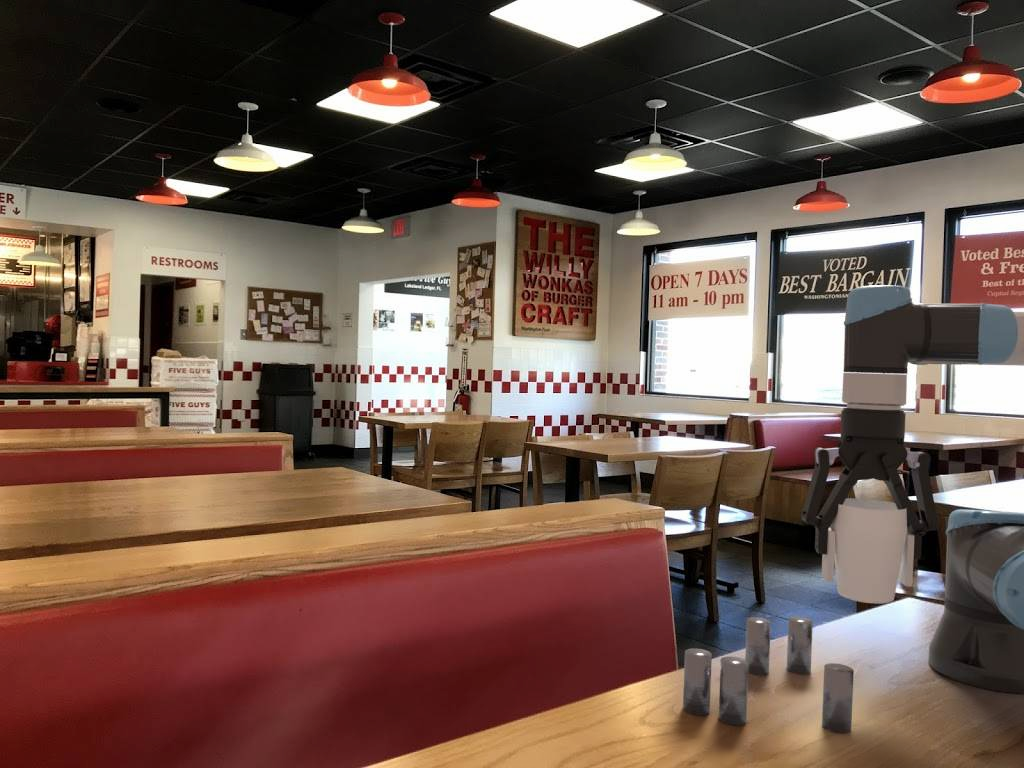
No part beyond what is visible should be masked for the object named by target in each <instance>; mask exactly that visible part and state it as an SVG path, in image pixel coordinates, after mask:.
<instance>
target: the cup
mask: <svg viewBox="0 0 1024 768" xmlns="http://www.w3.org/2000/svg"><path fill="white" fill-rule="evenodd" d="M830 528H831V529H832V530H834V531H835V556H834V571H835V577H836V585H837V593H838V595H840V596H841V597H844V598H845V599H848V600H852V601H855V602H859V603H865V604H876V605H877V604H887V603H891V602H893V601H895V595H896V591H897V584H898V582H899V581H898V576H899V571H900V566H901V561H902V556H903V551H904V546H905V541H906V536H907V532H908V529H907V507H906V509H902V510H898V508H897V506H896V504H895V502H893V501H886V500H880V499H870V498H869V499H868V498H852V497H850V498H848V497H847V498H846V499H845V501H844V503H843V505H840V504H839V505H838V513H837V515H836V517H835V519H834V520H833V522H832V524H831V526H830Z"/></svg>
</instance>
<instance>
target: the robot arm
mask: <svg viewBox="0 0 1024 768" xmlns="http://www.w3.org/2000/svg"><path fill="white" fill-rule="evenodd" d="M843 326H844V345H843V347H844V348H843V352H844V353H843V372H842V373H843V376H842V395H841V401H842V403H843V404H846V407H843V409H842V410H841V413H840V414H841V415H840V439H839V442H838V444H837V446H836V447H831V448H829V447H828V448H822V447H816V448H814V450H813V454H814V455H813V456H814V468H813V473H812V476H811V479H810V482H809V486H808V489H807V494H806V496H805V501H804V503H803V504H804V505H803V506H802V507H803V508H802V512H801V517H800V518H801V520H802V521H803V522H805V523H806V524H807V525H811V526H814V528H815V535H814V538H815V539H814V540H815V541H814V548H815V549H814V550H815V551H816V553H817V554H819V555H822V557H821V558H822V559H821V578H822V579H824V580H825V581H826V582H827V583H834V577H835V561H834V556H835V531H834V530H832V529H831V524H832V522H833V520H834V519H835V517H836V515H837V513H838V505H839V504H840V505H843V503H844V501H845V499H846V498H848V496H849V494H850V492H851V490H852V489H853V488H854V486H856V484H857V483H858V481H859V480H860V481H861V480H863V481H867V480H872V479H873V480H876V481H883V482H884V484H885V485H886V487H887V489H888V491H889V494H890V496H891V497H892V499H893V501H894V502H893V503H895V504H896V506H897V508H898V510H902V509H906V507H907V536H906V541H905V546H904V551H903V556H902V561H901V566H900V571H899V576H898V581H897V582H899V583H901V584H902V585H903V586H905V587H911V588H913V582H914V581H913V578H914V560H920V559H921V557H922V543H923V542H922V541H923V540H922V539H923V538H922V537H924V536H925V535H926V534H927V532H931V531H932V532H933V531H934V532H935V531H937V530H938V529H939V527H940V524H939V519H938V515H937V510H936V504H935V500H934V494H933V489H932V485H931V479H930V474H929V469H930V466H931V465H930V464H931V456H930V454H929V453H926V452H922V451H911V450H910V451H909V450H908V449H907V448H906V445H905V436H906V435H905V434H906V412H905V411H904V410H903V409H902V408H901V407H904V406H905V405H907V391H908V390H907V388H908V387H907V386H908V383H907V382H908V365H909V363H910V364H911V365H916V366H925V365H926V366H927V365H959V366H960V365H971V366H972V365H979V366H982V365H984V366H1019V367H1021V366H1023V367H1024V311H1013V309H1012V308H1011V307H1010V306H1008V305H1004V304H991V303H990V304H989V303H985V302H980V303H922V302H918V301H917V302H916V301H915V302H914V301H913V298H912V297H911V290H910V288H908V287H906V286H904V285H888V284H887V285H885V284H879V285H877V284H876V285H875V284H874V285H864V286H858V287H855V288H853V289H851V291H849V293H848V295H847V299H846V306H845V316H844V321H843ZM837 457H838V459H839V460H840V462H841V463H842V464H843V465H844V467H843V468H842V471H841V472H840V473H839V477H838V480H837V482H836V484H835V485H834V487H833V489H832V490H831V492H830V494H829V495H828V497H827V499H826V501H825V503H824V504H823V506H822V508H821V510H820V511H819V509H820V505H821V502H822V498H823V495H824V492H825V487H826V484H827V481H828V478H829V474H830V466H832V465H833V464H834V462H835V459H836V458H837ZM905 461H907V465H908V467H909V468H911V470H910V471H911V477H912V481H913V487H914V488H913V489H914V492H915V497H916V498H915V499H916V503H917V508H918V513H919V517H918V514H917V512H916V510H915V508H914V506H913V503H912V502H911V500H910V497H909V495H908V493H907V491H906V488H905V487H904V484H903V480H902V478H901V476H900V474H899V472H898V469H899V468H900V467H901V466H902V464H903V463H904V462H905ZM947 524H948V525H947V528H946V530H945V535H946V553H945V554H946V555H945V558H946V560H945V579H944V580H945V581H944V582H945V584H944V585H945V586H944V607H943V613H942V615H941V617H940V620H939V622H938V625H937V627H936V629H935V632H934V634H933V636H932V638H931V641H930V643H929V647H928V664H929V665H930V667H932V668H933V669H934V670H935V671H937V672H938V673H940V674H942V675H943V676H946V677H947V678H950V679H953V680H954V681H958V682H961V683H963V684H968V685H969V686H974V687H978V688H982V689H987V690H992V691H996V692H997V691H999V692H1002V693H1003V692H1005V693H1015V694H1024V512H1014V511H1013V512H1012V511H1000V510H983V509H982V510H981V509H963V508H962V509H960V508H959V509H955V510H953V511H951V513H949V517H948V523H947Z"/></svg>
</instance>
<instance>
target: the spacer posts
mask: <svg viewBox="0 0 1024 768" xmlns="http://www.w3.org/2000/svg"><path fill="white" fill-rule="evenodd" d="M813 624H814V623H813V620H812V619H809V618H807V617H802V616H791V617H788V623H787V645H786V647H787V649H786V652H787V653H786V670H787V671H788V672H791V673H792V674H796V675H797V674H798V675H808V674H811V672H812V649H813V647H812V646H813V644H812V643H813ZM771 627H772V622H771V621H770V620H769V619H767V618H763V617H758V616H757V617H755V616H753V617H748V618H746V630H745V632H746V633H745V653H744V654H745V657H744V658H745V659H744V658H742V657H739V656H738V657H737V656H724V657H721V658H720V668H719V669H720V670H719V695H718V696H719V697H718V720H719V721H721V723H723V724H727V725H729V726H730V725H731V726H744V725H745V724H746V723H747V712H748V689H749V688H748V687H749V685H748V684H749V674H751V675H755V676H767V675H768V674H770V655H771V653H770V651H771V650H770V649H771ZM712 658H713V655H712V653H711V651H708V650H706V649H703V648H688V649H685V651H684V669H683V670H684V671H683V673H684V674H683V693H682V694H683V699H682V709H683V711H684V712H685V713H687V714H689V715H692V716H693V715H694V716H708V715H709V714H710V711H711V689H712V687H711V686H712V684H711V683H712V682H711V681H712V663H713V662H712V660H713V659H712ZM823 669H824V670H823V687H822V688H823V690H822V691H823V692H822V693H823V694H822V695H823V696H822V714H821V715H822V716H821V717H822V719H821V727H822V728H824V729H825V730H827V731H829V732H832V733H835V734H848V733H851V732H852V723H853V722H852V719H853V698H854V697H853V695H854V669H853V668H852V667H850V666H848V665H845V664H841V663H835V662H833V663H826V664H824V667H823Z"/></svg>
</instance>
